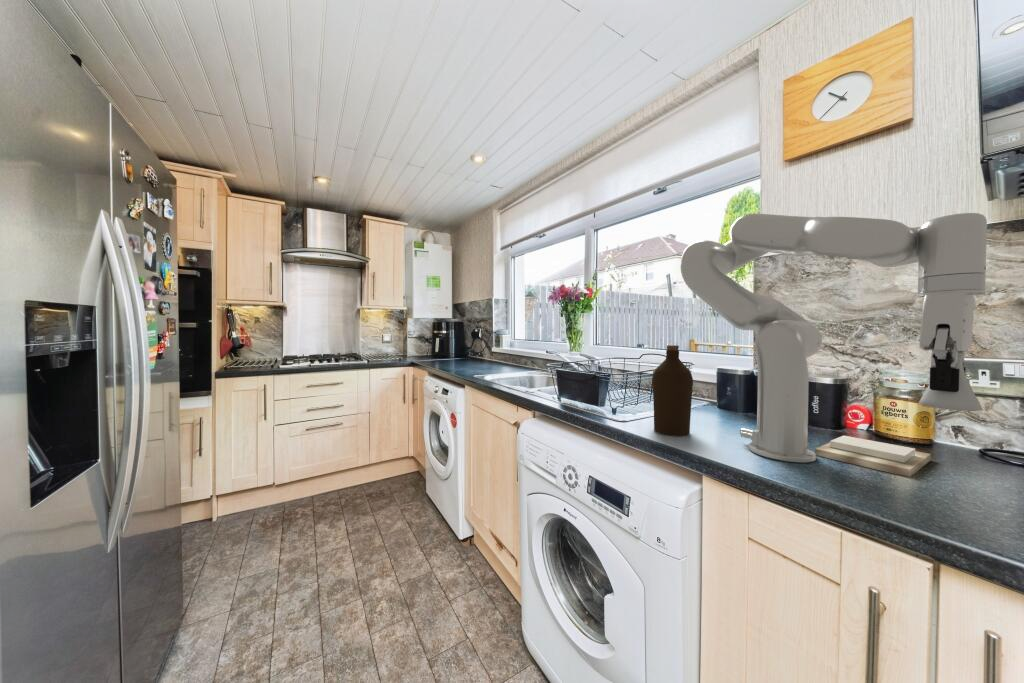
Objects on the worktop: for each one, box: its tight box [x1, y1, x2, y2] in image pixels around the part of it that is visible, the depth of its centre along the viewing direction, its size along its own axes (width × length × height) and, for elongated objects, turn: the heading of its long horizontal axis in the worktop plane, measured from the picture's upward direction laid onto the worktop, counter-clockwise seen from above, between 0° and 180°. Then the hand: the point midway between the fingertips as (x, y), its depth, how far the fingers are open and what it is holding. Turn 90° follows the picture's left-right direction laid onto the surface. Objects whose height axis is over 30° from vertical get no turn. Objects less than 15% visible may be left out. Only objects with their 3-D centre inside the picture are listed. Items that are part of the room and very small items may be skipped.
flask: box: [918, 351, 984, 412], centre depth 63 cm, size 7×7×10 cm
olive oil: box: [651, 344, 694, 437], centre depth 102 cm, size 11×11×25 cm
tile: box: [829, 435, 916, 463], centre depth 81 cm, size 12×2×9 cm
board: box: [814, 442, 931, 478], centre depth 81 cm, size 15×18×2 cm
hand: (947, 388), depth 63 cm, fingers closed on flask, 4 cm apart
